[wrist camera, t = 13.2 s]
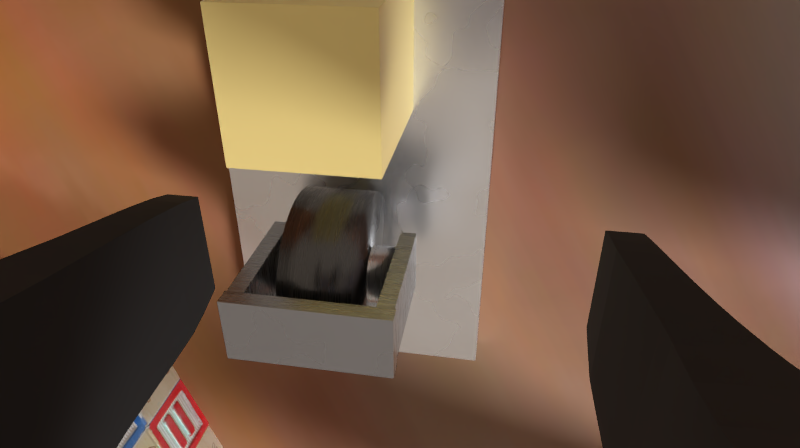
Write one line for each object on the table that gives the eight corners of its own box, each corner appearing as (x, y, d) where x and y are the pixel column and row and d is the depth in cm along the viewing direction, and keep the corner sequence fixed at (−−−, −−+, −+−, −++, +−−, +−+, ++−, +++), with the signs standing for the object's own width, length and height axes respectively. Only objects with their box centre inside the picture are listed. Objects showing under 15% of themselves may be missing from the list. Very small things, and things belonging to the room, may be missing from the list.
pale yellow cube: (414, -28, 17) (378, 7, 13) (413, 109, 19) (381, 179, 15) (277, -31, 18) (199, 1, 13) (290, 102, 20) (226, 167, 15)
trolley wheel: (510, -69, 17) (503, -34, 11) (477, 343, 25) (462, 495, 19) (207, -73, 18) (56, -43, 12) (263, 319, 26) (186, 454, 20)
